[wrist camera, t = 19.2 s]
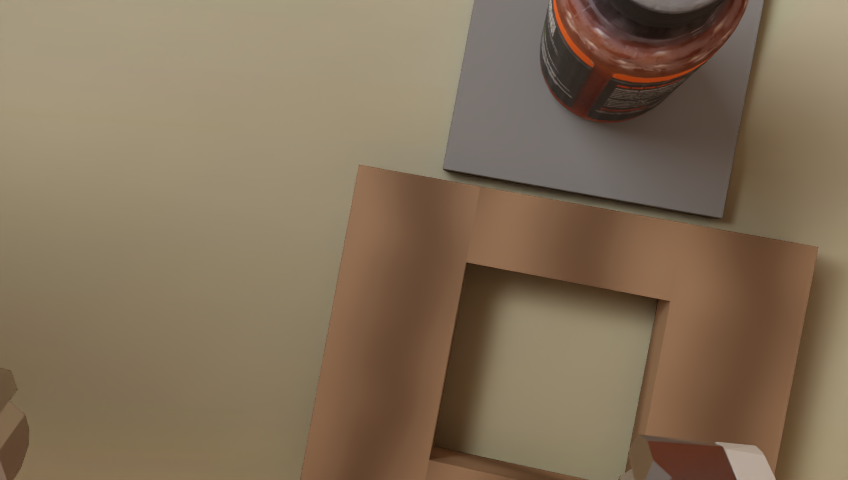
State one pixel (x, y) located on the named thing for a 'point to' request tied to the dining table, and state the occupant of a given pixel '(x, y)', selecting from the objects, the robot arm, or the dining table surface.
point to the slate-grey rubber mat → (594, 141)
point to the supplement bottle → (629, 51)
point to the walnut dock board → (558, 259)
